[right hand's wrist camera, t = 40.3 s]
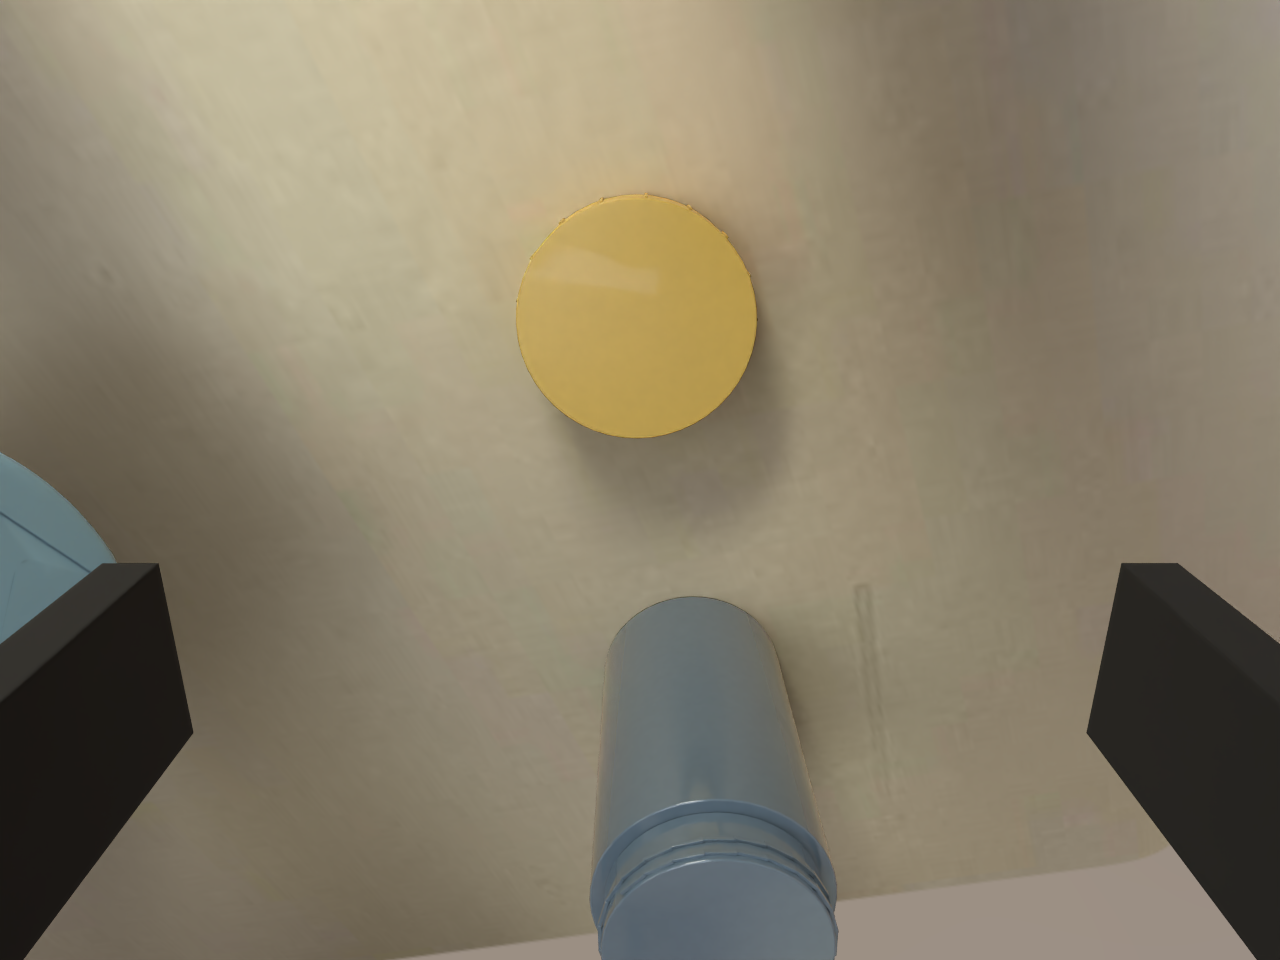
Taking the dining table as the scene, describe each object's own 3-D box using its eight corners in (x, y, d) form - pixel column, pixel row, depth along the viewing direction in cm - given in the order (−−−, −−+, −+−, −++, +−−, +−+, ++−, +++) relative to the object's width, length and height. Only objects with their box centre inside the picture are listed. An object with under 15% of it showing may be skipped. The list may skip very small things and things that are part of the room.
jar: (814, 672, 44) (905, 951, 29) (690, 775, 46) (715, 1084, 31) (692, 562, 42) (721, 800, 27) (568, 675, 44) (531, 954, 29)
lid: (473, 292, 37) (463, 301, 35) (658, 140, 35) (658, 140, 33) (617, 464, 40) (615, 483, 38) (796, 331, 38) (805, 344, 36)
